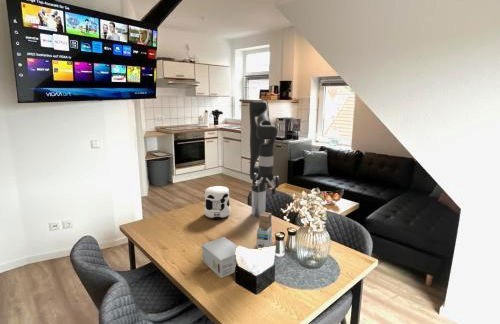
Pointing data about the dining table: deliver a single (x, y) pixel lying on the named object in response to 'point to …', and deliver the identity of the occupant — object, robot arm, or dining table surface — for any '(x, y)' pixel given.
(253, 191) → the robot arm
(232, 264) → the supplement box
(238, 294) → the dining table surface
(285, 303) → the dining table surface
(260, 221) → the walnut block
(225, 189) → the milk container
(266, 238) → the light bulb box
